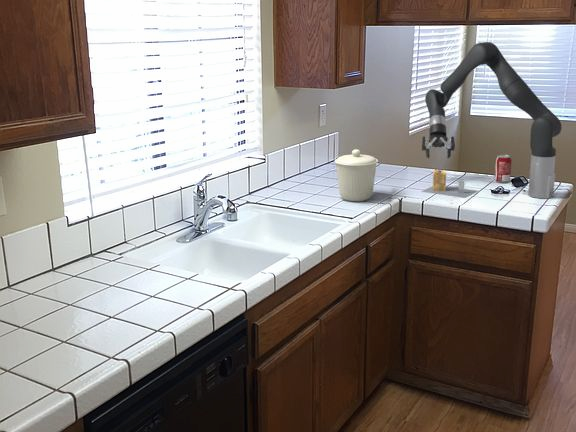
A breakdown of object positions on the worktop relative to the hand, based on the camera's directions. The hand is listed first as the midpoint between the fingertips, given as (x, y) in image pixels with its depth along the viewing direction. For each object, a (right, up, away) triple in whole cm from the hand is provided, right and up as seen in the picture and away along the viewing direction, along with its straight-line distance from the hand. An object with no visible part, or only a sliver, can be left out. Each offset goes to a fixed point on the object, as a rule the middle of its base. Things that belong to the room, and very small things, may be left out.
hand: (438, 157), depth 280 cm
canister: (-38, -19, -10) cm, 43 cm away
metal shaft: (+7, -16, -12) cm, 21 cm away
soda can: (+32, -10, +11) cm, 35 cm away
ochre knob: (-1, -14, -6) cm, 16 cm away
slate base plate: (+3, -17, -8) cm, 19 cm away
